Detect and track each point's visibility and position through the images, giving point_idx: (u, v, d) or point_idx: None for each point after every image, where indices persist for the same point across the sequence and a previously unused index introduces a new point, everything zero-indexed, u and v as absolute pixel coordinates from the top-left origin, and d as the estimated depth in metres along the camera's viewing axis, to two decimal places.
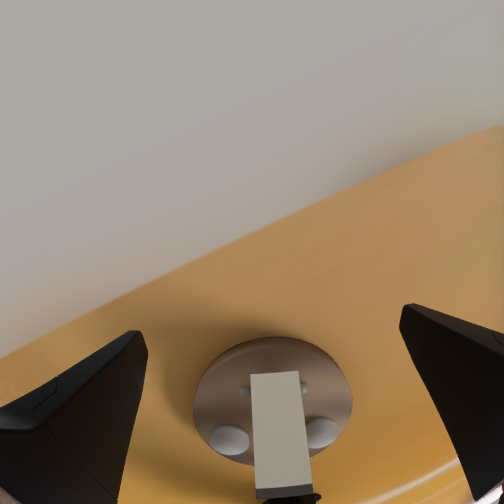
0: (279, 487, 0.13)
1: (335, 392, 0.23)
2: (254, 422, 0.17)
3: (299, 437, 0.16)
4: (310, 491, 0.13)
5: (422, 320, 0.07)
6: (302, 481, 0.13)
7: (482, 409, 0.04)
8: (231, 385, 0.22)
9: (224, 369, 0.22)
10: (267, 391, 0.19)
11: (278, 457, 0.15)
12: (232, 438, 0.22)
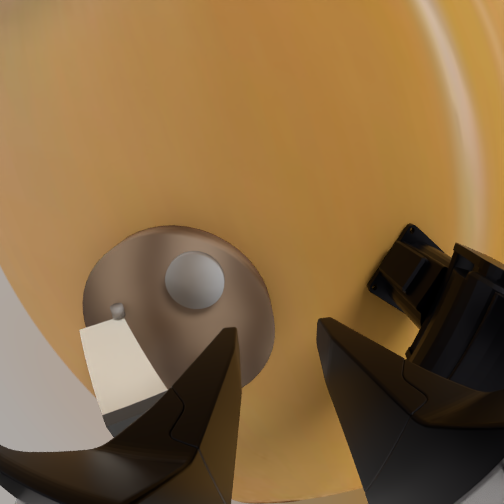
0: None
1: (126, 265, 0.18)
2: None
3: None
4: (106, 425, 0.10)
5: (328, 338, 0.07)
6: None
7: (384, 453, 0.04)
8: None
9: None
10: None
11: None
12: None
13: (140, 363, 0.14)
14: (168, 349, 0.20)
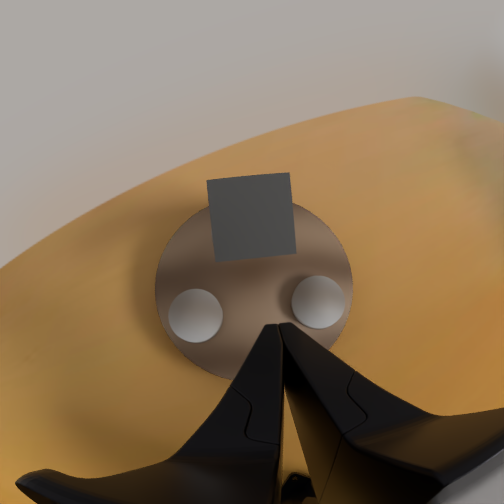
0: None
1: (321, 243, 0.22)
2: None
3: None
4: (285, 173, 0.12)
5: (283, 344, 0.07)
6: None
7: None
8: (203, 235, 0.22)
9: (197, 218, 0.23)
10: None
11: None
12: (199, 305, 0.19)
13: None
14: (232, 272, 0.21)
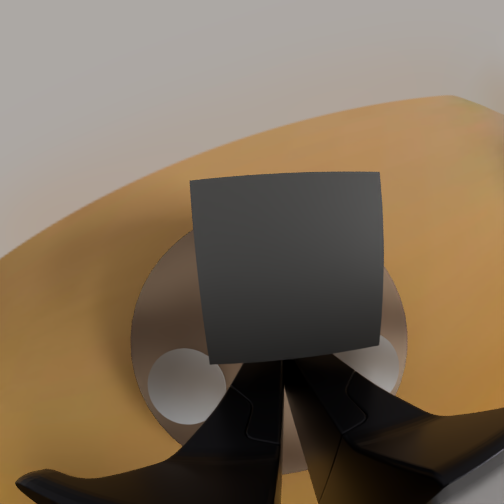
0: None
1: None
2: None
3: None
4: None
5: None
6: None
7: None
8: None
9: (193, 238, 0.16)
10: None
11: None
12: (191, 374, 0.12)
13: None
14: None
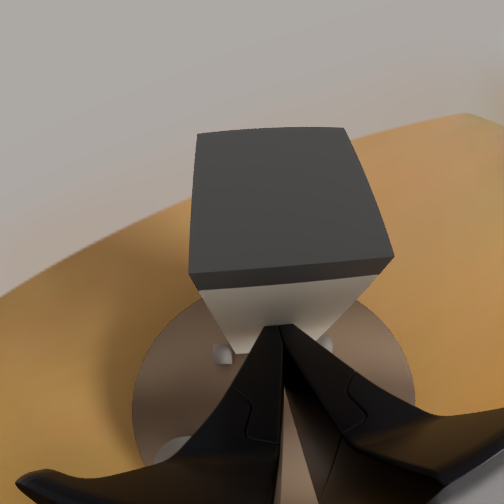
0: None
1: (380, 361, 0.13)
2: None
3: None
4: None
5: (283, 344, 0.07)
6: None
7: None
8: (201, 347, 0.14)
9: (191, 315, 0.14)
10: None
11: None
12: None
13: None
14: None
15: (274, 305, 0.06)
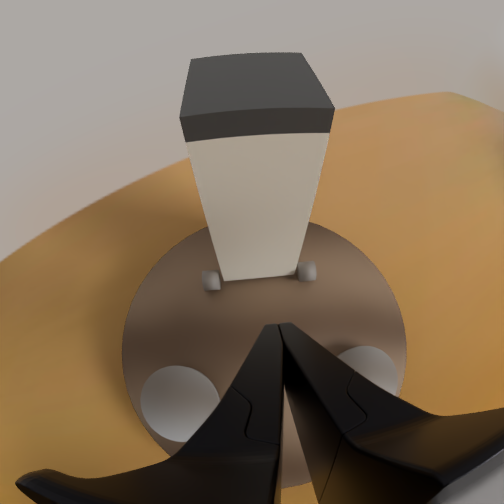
0: None
1: (366, 292, 0.14)
2: None
3: None
4: None
5: (283, 344, 0.07)
6: None
7: None
8: (191, 277, 0.15)
9: (183, 248, 0.15)
10: None
11: None
12: (184, 391, 0.12)
13: None
14: (235, 339, 0.13)
15: (248, 172, 0.08)
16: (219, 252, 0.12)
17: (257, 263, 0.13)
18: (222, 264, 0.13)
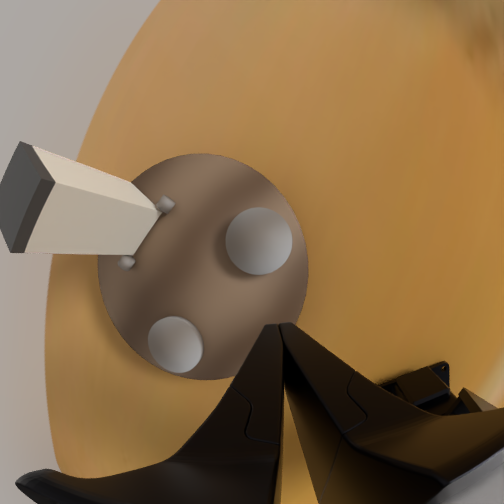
0: None
1: (214, 177, 0.17)
2: None
3: None
4: None
5: (283, 344, 0.07)
6: None
7: None
8: (118, 269, 0.19)
9: (102, 259, 0.19)
10: None
11: None
12: (168, 336, 0.17)
13: (94, 188, 0.12)
14: (166, 280, 0.18)
15: (57, 227, 0.10)
16: (104, 252, 0.15)
17: (131, 232, 0.16)
18: (116, 252, 0.16)
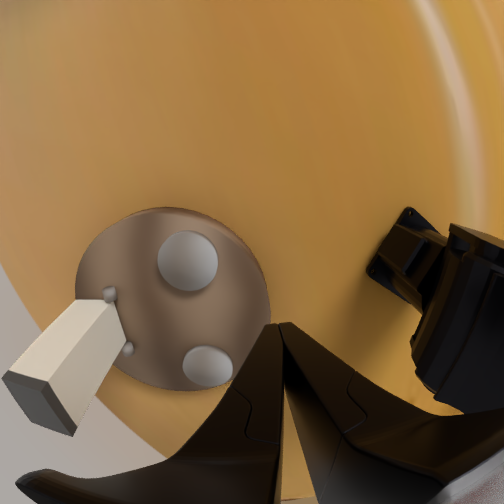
0: None
1: (118, 246, 0.17)
2: None
3: None
4: (4, 378, 0.09)
5: (283, 344, 0.07)
6: None
7: None
8: None
9: None
10: None
11: None
12: (198, 366, 0.20)
13: (65, 349, 0.13)
14: (161, 335, 0.20)
15: (75, 394, 0.12)
16: (110, 363, 0.17)
17: (110, 334, 0.17)
18: (116, 354, 0.18)
